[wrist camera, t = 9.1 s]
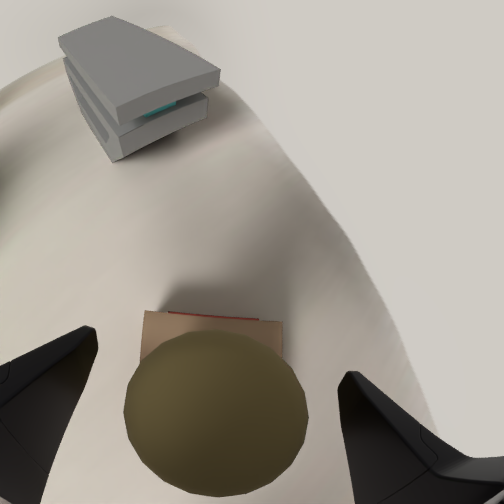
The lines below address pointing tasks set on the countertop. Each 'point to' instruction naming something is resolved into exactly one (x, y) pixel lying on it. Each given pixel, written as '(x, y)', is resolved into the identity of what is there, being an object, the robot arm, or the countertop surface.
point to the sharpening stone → (134, 84)
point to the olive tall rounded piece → (215, 413)
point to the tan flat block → (205, 328)
